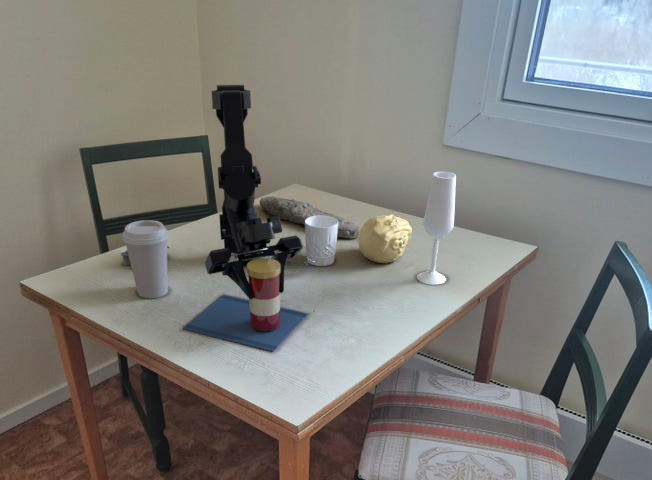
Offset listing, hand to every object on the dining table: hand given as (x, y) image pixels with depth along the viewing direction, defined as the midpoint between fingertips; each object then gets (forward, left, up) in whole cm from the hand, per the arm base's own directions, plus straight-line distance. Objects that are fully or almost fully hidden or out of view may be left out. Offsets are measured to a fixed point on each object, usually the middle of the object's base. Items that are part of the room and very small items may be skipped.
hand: (266, 295), depth 123 cm
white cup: (-3, +35, -8) cm, 36 cm away
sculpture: (+10, +43, -8) cm, 45 cm away
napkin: (-5, +1, -8) cm, 10 cm away
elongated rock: (-16, +57, -8) cm, 60 cm away
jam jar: (-1, +1, -7) cm, 7 cm away
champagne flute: (+24, +37, -8) cm, 45 cm away
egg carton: (-41, +17, -8) cm, 46 cm away
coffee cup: (-30, +4, -8) cm, 32 cm away
